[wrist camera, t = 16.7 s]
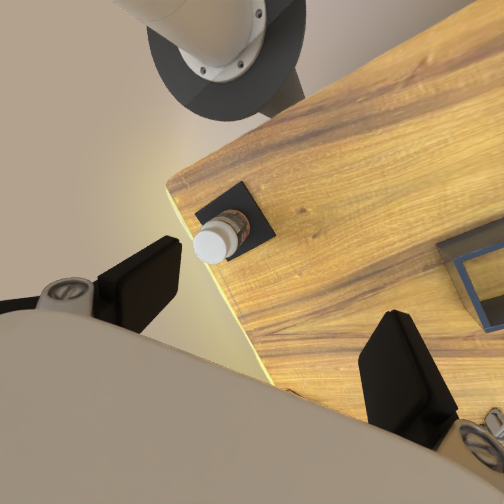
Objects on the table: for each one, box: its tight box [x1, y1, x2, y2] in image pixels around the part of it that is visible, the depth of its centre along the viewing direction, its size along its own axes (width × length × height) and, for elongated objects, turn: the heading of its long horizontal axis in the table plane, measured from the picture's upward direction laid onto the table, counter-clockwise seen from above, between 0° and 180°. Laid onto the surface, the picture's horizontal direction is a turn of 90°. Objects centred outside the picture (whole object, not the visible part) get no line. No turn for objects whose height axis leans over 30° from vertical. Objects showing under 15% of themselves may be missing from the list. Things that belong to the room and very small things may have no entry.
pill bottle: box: [193, 210, 250, 264], centre depth 36 cm, size 6×6×10 cm
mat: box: [195, 181, 276, 261], centre depth 40 cm, size 10×10×1 cm
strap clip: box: [481, 409, 504, 444], centre depth 42 cm, size 8×3×4 cm
